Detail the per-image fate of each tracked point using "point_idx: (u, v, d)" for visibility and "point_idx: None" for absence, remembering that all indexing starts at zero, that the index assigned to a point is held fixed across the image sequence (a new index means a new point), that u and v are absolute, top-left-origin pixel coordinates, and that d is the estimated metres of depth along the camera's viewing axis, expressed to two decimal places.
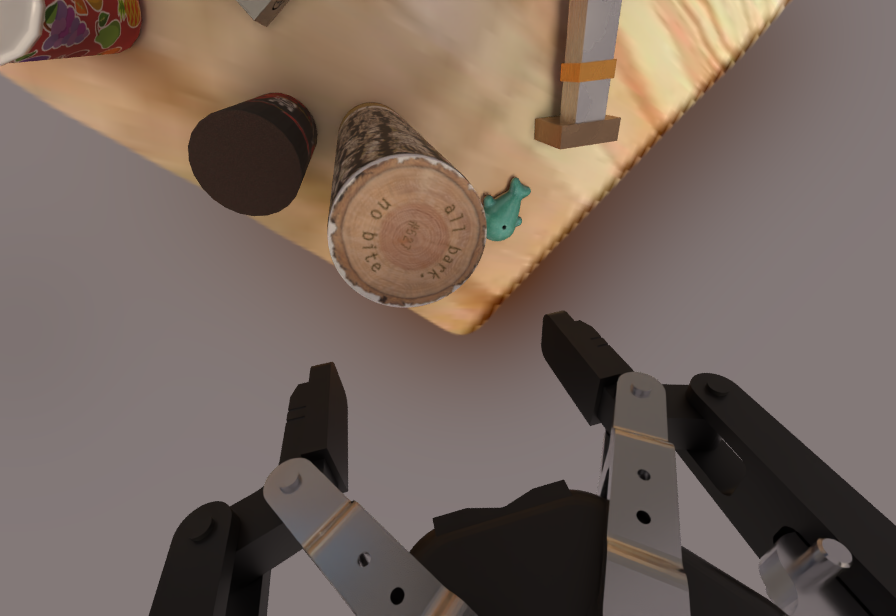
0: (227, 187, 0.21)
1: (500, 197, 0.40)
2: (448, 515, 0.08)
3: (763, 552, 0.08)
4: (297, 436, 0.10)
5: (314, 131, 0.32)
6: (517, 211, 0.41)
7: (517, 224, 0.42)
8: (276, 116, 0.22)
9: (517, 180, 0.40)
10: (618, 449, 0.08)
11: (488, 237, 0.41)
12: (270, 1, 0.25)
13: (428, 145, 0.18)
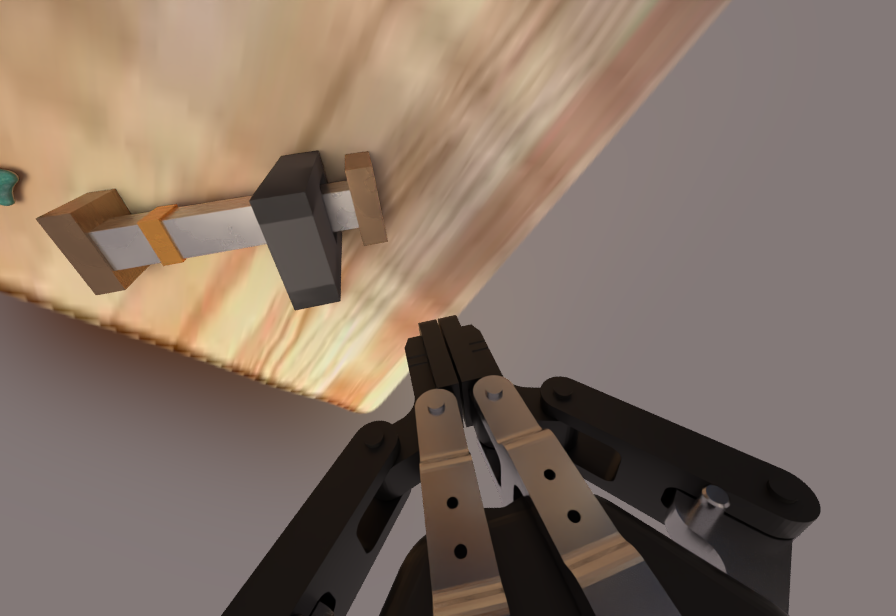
0: None
1: None
2: None
3: (656, 513, 0.09)
4: (423, 377, 0.12)
5: None
6: None
7: None
8: None
9: (9, 179, 0.25)
10: (518, 464, 0.08)
11: None
12: None
13: None
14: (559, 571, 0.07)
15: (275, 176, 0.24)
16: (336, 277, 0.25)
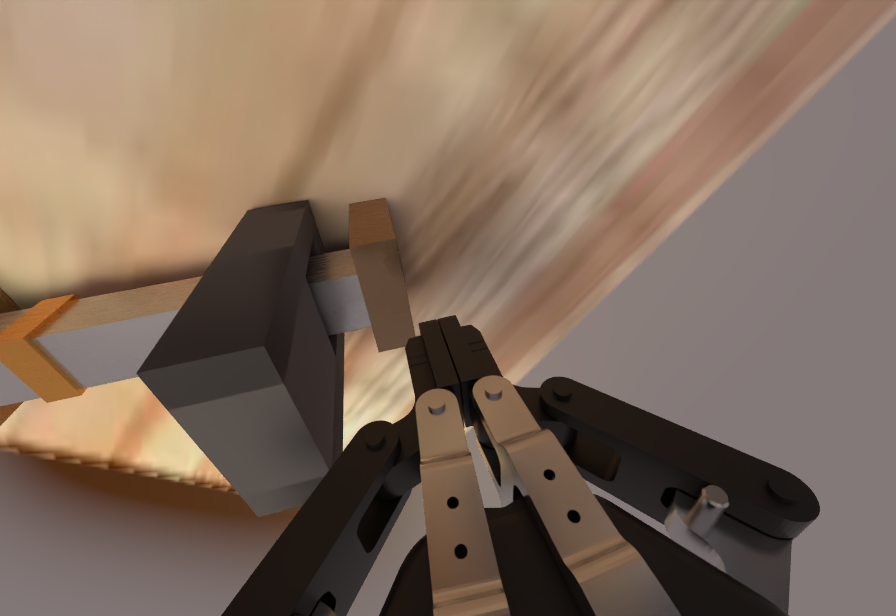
0: None
1: None
2: None
3: (656, 513, 0.09)
4: (423, 377, 0.12)
5: None
6: None
7: None
8: None
9: None
10: (518, 464, 0.08)
11: None
12: None
13: None
14: (559, 571, 0.07)
15: (221, 272, 0.13)
16: (335, 444, 0.14)
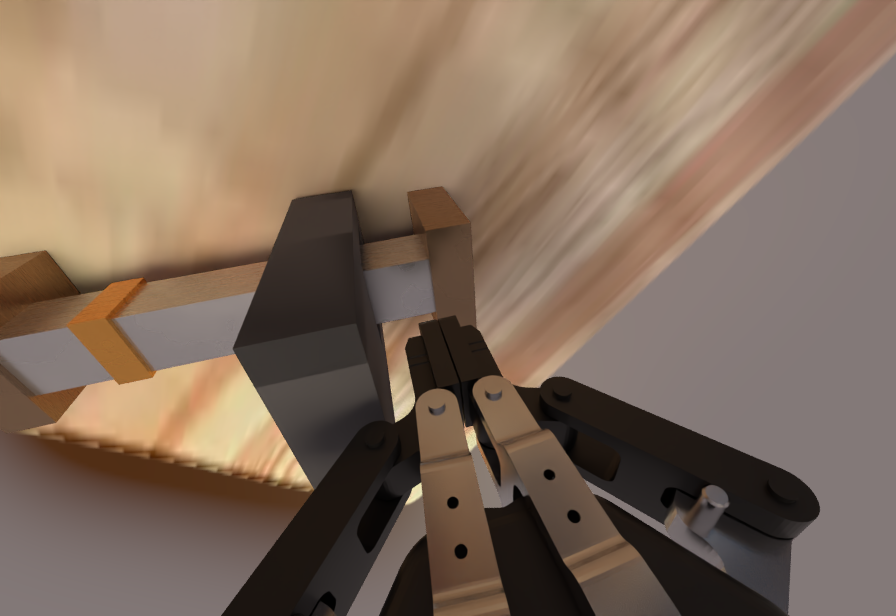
0: None
1: None
2: None
3: (656, 513, 0.09)
4: (423, 377, 0.12)
5: None
6: None
7: None
8: None
9: None
10: (518, 464, 0.08)
11: None
12: None
13: None
14: (559, 571, 0.07)
15: (286, 256, 0.13)
16: None
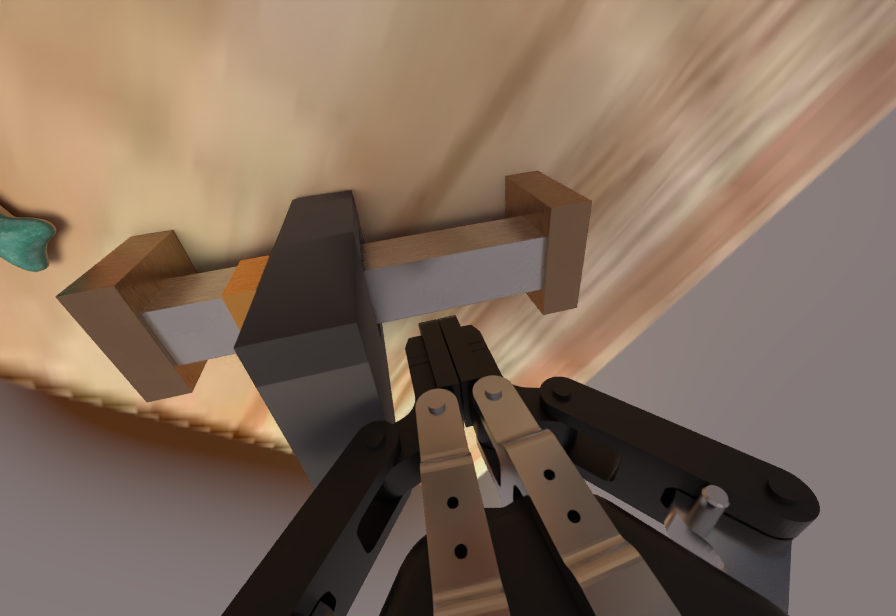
0: None
1: None
2: None
3: (656, 513, 0.09)
4: (423, 377, 0.12)
5: None
6: None
7: None
8: None
9: (42, 233, 0.16)
10: (518, 464, 0.08)
11: None
12: None
13: None
14: (559, 571, 0.07)
15: (287, 256, 0.13)
16: None
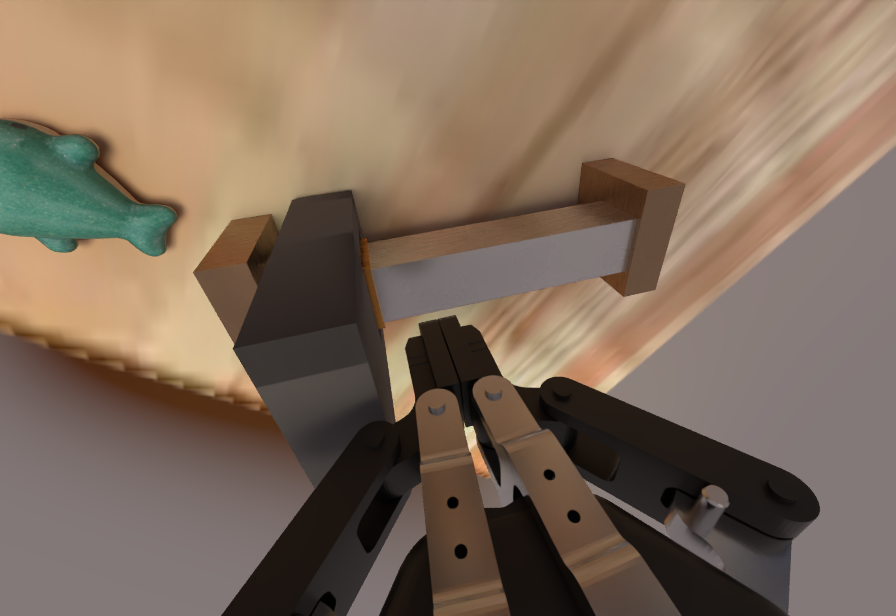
0: None
1: (104, 182, 0.16)
2: None
3: (656, 513, 0.09)
4: (423, 377, 0.12)
5: None
6: (75, 233, 0.15)
7: (45, 242, 0.16)
8: None
9: (168, 219, 0.17)
10: (518, 464, 0.08)
11: None
12: None
13: None
14: (559, 571, 0.07)
15: (287, 256, 0.13)
16: None
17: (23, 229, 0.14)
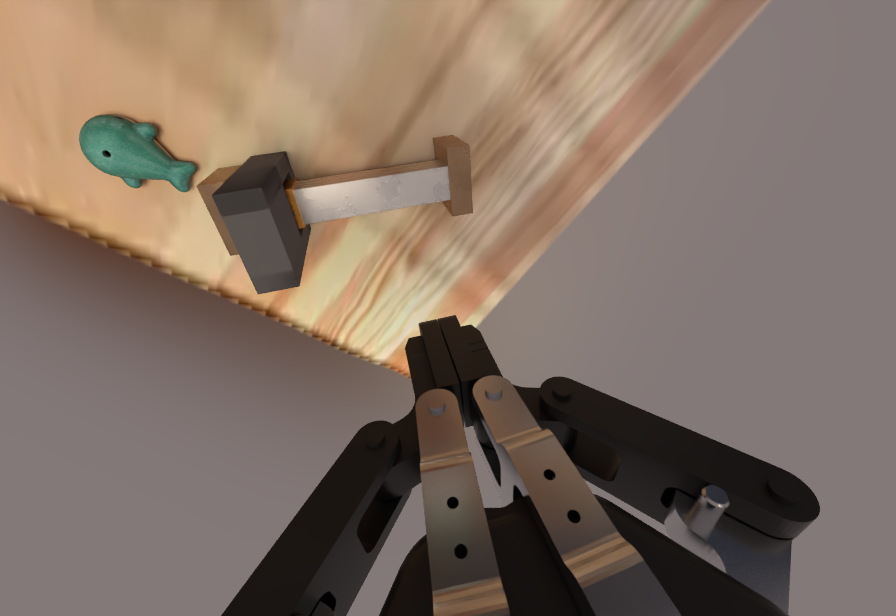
0: None
1: (158, 148, 0.30)
2: None
3: (656, 513, 0.09)
4: (423, 377, 0.12)
5: None
6: (144, 174, 0.29)
7: (126, 180, 0.30)
8: None
9: (191, 169, 0.31)
10: (518, 464, 0.08)
11: (81, 132, 0.27)
12: None
13: None
14: (559, 571, 0.07)
15: (240, 174, 0.27)
16: (296, 265, 0.28)
17: (120, 170, 0.28)
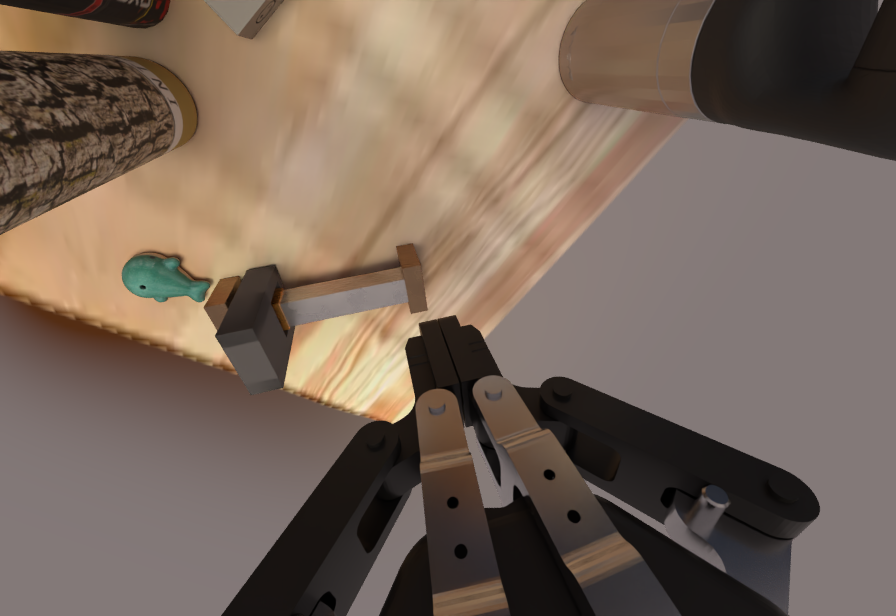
0: None
1: (181, 274, 0.38)
2: None
3: (656, 513, 0.09)
4: (423, 377, 0.12)
5: (127, 25, 0.26)
6: (170, 295, 0.38)
7: (156, 298, 0.38)
8: None
9: (206, 287, 0.39)
10: (518, 464, 0.08)
11: (123, 271, 0.35)
12: None
13: (45, 188, 0.16)
14: (559, 571, 0.07)
15: (237, 303, 0.34)
16: (281, 369, 0.35)
17: (152, 295, 0.37)
